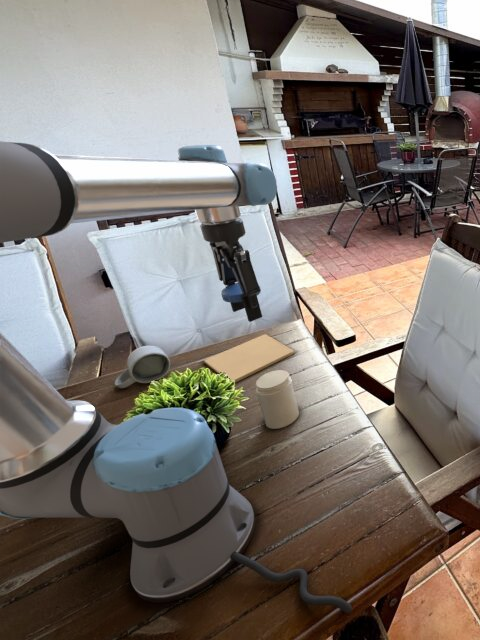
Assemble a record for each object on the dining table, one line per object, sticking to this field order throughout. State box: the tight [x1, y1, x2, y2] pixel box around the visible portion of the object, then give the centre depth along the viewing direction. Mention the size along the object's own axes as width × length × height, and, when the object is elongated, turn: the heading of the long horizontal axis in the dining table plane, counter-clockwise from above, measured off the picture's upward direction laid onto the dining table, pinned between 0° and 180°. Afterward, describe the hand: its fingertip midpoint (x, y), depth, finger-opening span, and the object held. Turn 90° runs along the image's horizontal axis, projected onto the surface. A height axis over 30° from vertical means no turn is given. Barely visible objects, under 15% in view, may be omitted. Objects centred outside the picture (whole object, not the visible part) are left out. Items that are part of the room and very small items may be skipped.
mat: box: [203, 333, 295, 383], centre depth 109 cm, size 16×16×1 cm
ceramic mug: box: [114, 345, 171, 389], centre depth 100 cm, size 11×8×8 cm
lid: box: [220, 282, 262, 304], centre depth 91 cm, size 7×7×2 cm
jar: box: [255, 369, 300, 430], centre depth 87 cm, size 7×7×10 cm
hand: (247, 313), depth 93 cm, fingers closed on lid, 7 cm apart
